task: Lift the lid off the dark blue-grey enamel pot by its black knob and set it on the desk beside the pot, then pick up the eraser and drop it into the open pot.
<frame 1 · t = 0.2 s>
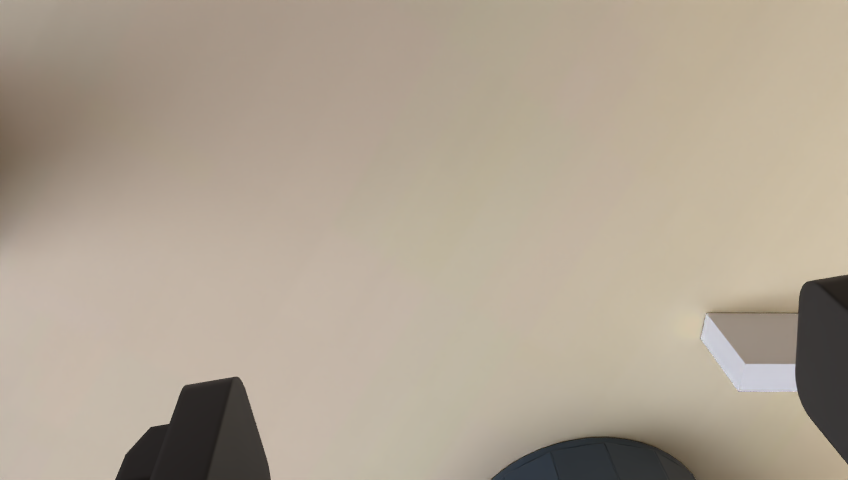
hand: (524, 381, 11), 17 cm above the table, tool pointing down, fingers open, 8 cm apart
eraser: (758, 323, 32), on the table
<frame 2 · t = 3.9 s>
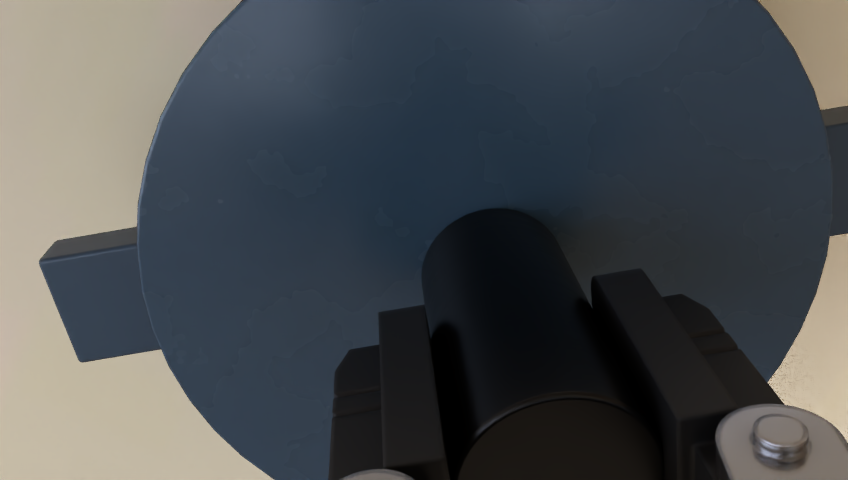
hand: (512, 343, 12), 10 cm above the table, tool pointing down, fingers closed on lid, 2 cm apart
lid: (487, 258, 15), point 7 cm above the table, touching gripper, pot
pot: (449, 138, 22), on the table
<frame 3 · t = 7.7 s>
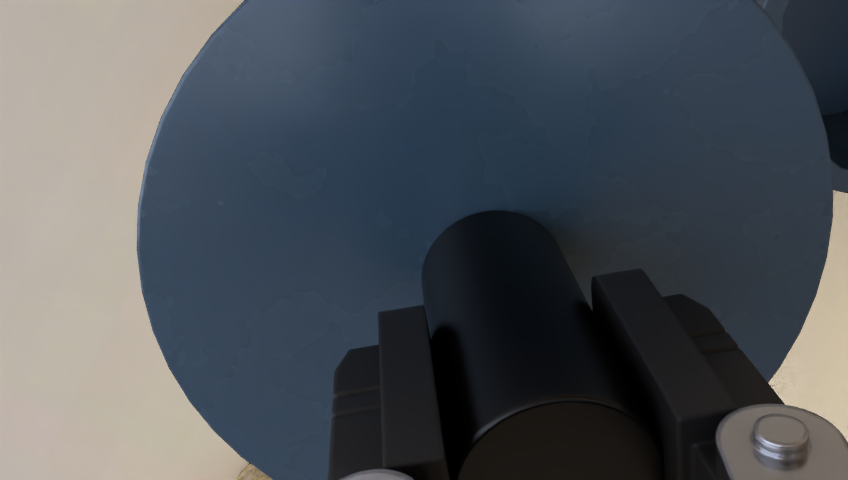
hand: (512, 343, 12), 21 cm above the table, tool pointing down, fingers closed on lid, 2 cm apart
lid: (487, 260, 15), point 18 cm above the table, touching gripper
when the fingers open (4 cm above the table, at t = 11.6 s): lid stays where it is, point 1 cm above the table.
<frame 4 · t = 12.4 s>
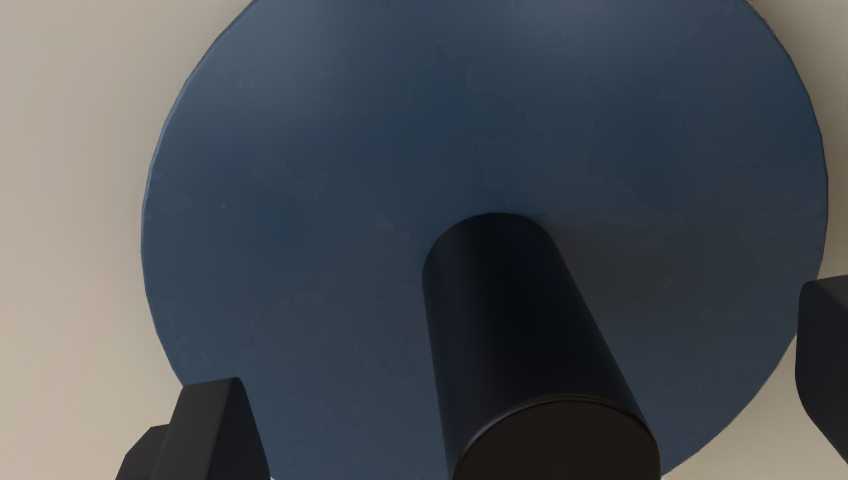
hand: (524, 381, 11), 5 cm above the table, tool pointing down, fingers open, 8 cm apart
lid: (487, 261, 15), point 1 cm above the table
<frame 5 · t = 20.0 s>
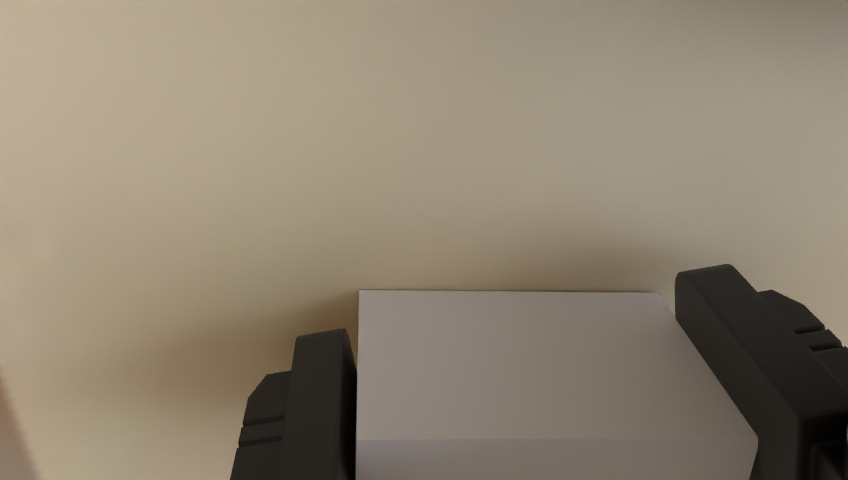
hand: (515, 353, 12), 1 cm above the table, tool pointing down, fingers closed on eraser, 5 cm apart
eraser: (506, 317, 13), on the table, touching gripper
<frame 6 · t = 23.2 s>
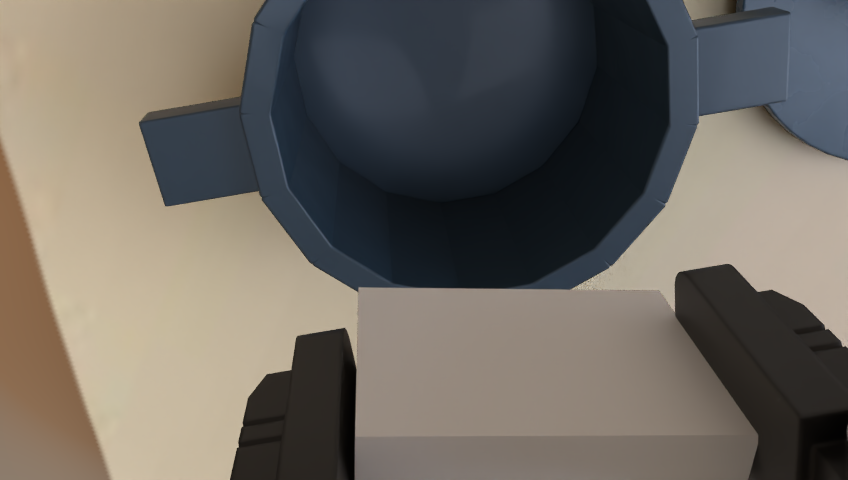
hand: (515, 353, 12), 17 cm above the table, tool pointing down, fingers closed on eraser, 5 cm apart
eraser: (505, 315, 13), point 16 cm above the table, touching gripper
pot: (446, 58, 27), on the table
when the fingers open (6 cm above the table, at t = 26.4 s): eraser drops 4 cm, resting on pot.
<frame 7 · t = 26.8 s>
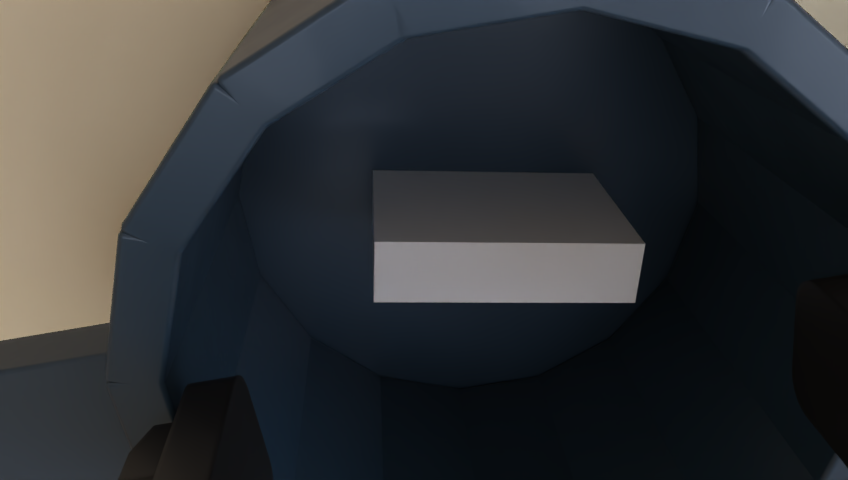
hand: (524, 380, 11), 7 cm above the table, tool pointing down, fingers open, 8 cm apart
eraser: (480, 194, 18), resting on pot
pot: (470, 189, 18), on the table
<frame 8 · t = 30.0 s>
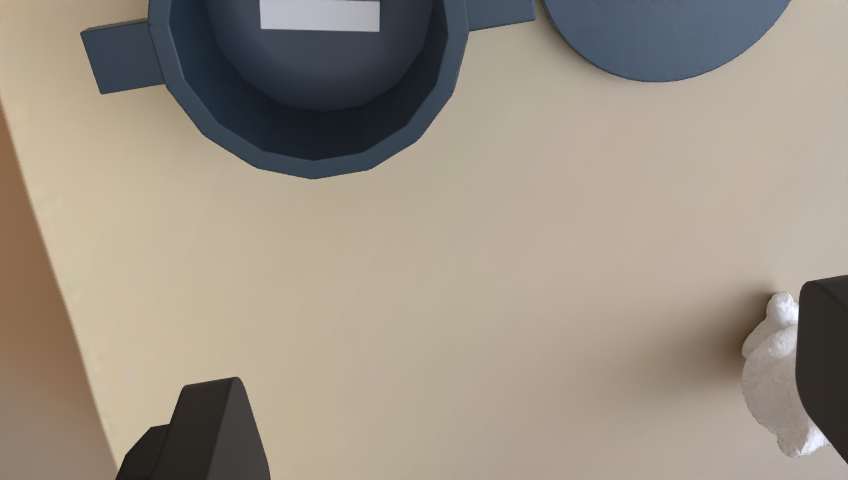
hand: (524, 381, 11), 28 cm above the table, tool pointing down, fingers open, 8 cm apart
eraser: (324, 1, 36), resting on pot
pot: (320, 0, 36), on the table
koala figurine: (778, 326, 45), on the table
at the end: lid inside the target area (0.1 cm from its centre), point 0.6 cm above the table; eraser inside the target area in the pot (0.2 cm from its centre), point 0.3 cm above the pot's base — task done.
